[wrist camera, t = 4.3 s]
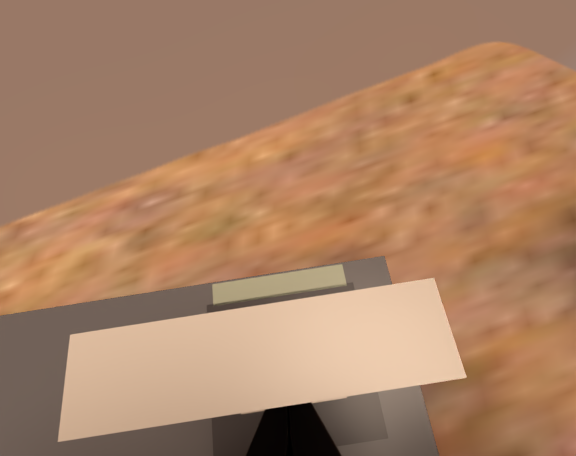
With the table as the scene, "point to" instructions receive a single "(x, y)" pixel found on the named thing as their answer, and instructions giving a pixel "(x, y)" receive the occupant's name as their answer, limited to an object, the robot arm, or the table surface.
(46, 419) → the switch panel
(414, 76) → the table surface
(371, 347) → the ivory paddle
